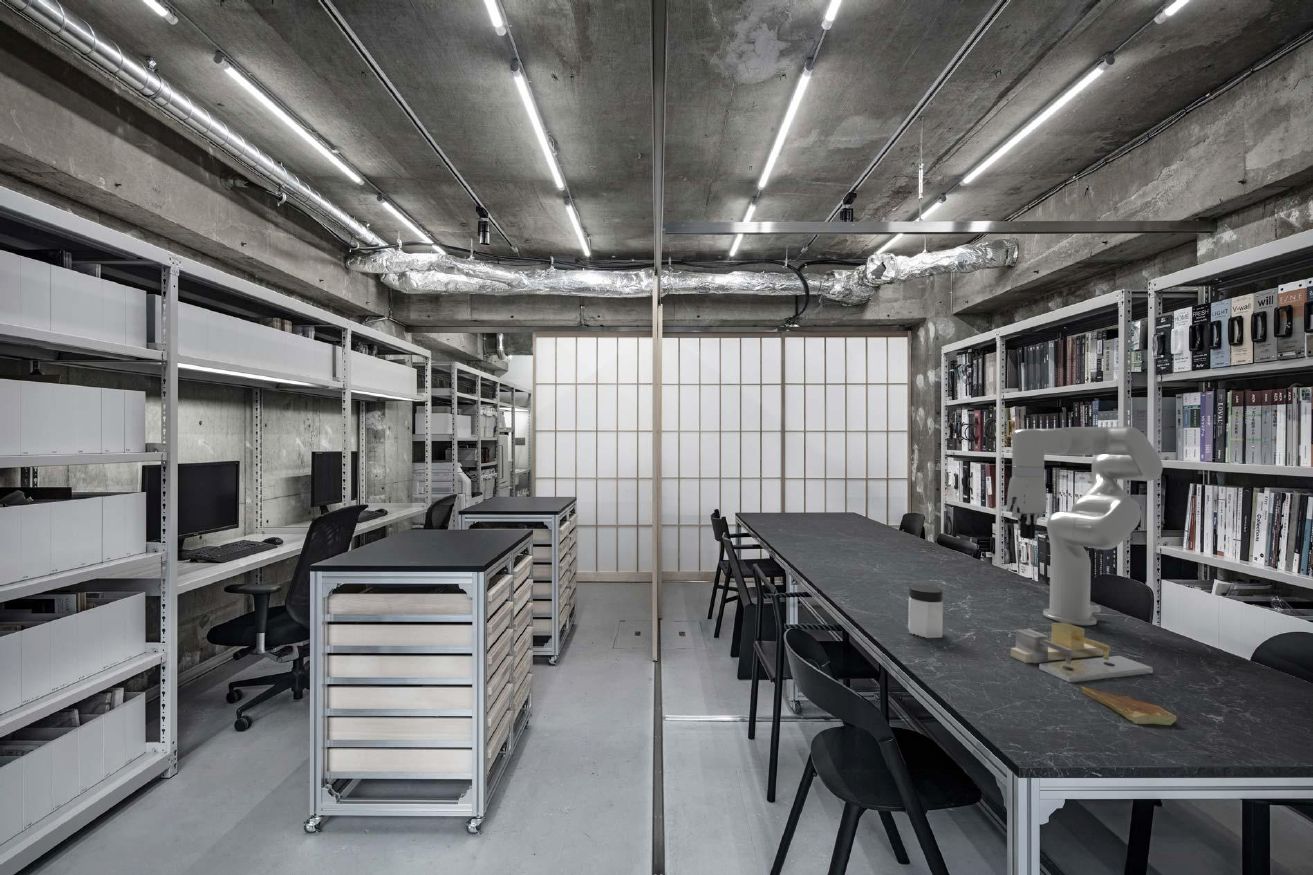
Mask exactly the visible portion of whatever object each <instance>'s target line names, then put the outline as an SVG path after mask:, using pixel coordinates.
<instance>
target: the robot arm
mask: <svg viewBox="0 0 1313 875" xmlns="http://www.w3.org/2000/svg"><path fill="white" fill-rule="evenodd" d="M1011 443H1012V447H1011V448H1012V449H1011V450H1012V453H1011V454H1012V456H1011V460H1012V461H1011V462H1012V463H1011V464H1012V465H1011V477H1010V479H1009V481H1008V483H1009V484H1008V489H1007V497H1006V509H1007V511H1008V512H1009V513H1011V517H1012V518H1015V519H1017V521H1018V524H1019V537H1020V538H1022V539H1027V540H1034V539H1036V525H1037V523H1038V519H1039V518H1042V517H1044V512H1046V510H1047V502H1048V501H1047V487H1046V482H1045V480H1046V479H1045V456H1095V457H1094V458H1093V460H1092V462H1091V480H1092V481H1091V482H1092V485H1091V486H1090V487H1089V488H1088V489H1087V490H1086V491H1085V492H1084V493H1083V494H1082V495H1081V496H1079V497H1078V498H1076V500H1075V501H1074V502H1073V504H1072V506H1071V509H1070V510H1071V511H1069V510H1068V511H1067V510H1059V511H1057V512H1053V513H1052V514H1051V515H1050V516H1048V519H1047V521H1046V531H1047V535H1048V540H1049V550H1050V560H1049V561H1050V566H1049V567H1050V568H1049V570H1050V571H1049V574H1050V575H1049V608H1045V609H1043V611H1042V612H1043V613H1042V614H1043V616H1044V617H1045V618H1047V619H1050V620H1053V621H1056V622H1058V623H1061V622H1065V623H1068V624H1071V625H1074V626H1094V625H1096V624H1097V621H1098V620H1097V618H1095V617H1094V616H1093V613H1100V612H1102V608H1101V606H1099V605H1093V604H1091V576H1092V575H1091V574H1092V573H1091V571H1092V570H1091V568H1092V563H1091V558H1090V556H1089V554H1088V552H1087V550H1086V549H1085V548H1086V547H1087V548H1093V549H1097V550H1098V549H1099V550H1112V549H1115V548H1116V547H1118V546H1119V545H1120V544H1121V543H1122V542H1123V541H1124V540H1125V539H1127V537H1128V536H1129V535H1130V534H1131V533H1132V532H1133V531H1134V530H1136V528H1137V527H1138V525H1139V523H1140V521H1141V518H1142V517H1141V516H1142V509H1141V506H1140V504H1139V503H1138V501H1136V500H1135V499H1133V498H1131V497H1129V496H1125V492H1124V490H1123V488H1122V487H1121V485H1120V484H1119V483H1117V480H1121V481H1122V480H1123V481H1138V482H1139V481H1140V482H1141V481H1143V482H1151V481H1155V480H1157V479H1158V478H1159V477H1160V476H1161V475H1162V473H1163V469H1164V468H1163V462H1162V459H1161V458H1160V455H1159V454H1158V452H1157V451H1156V449H1155V448H1154V446H1153V445H1152V443H1151V442H1150V440H1149V439H1148V437H1146V436H1145V435H1144V433H1143V432H1141V430H1140V429H1138V428H1136V427H1133V426H1072V427H1071V426H1069V427H1057V428H1021V429H1020V428H1019V429H1015V430H1014V431H1013V432H1012V440H1011Z"/></svg>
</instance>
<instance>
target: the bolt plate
mask: <svg viewBox="0 0 1313 875" xmlns="http://www.w3.org/2000/svg"><path fill="white" fill-rule="evenodd" d="M1038 664H1039V667H1038V668H1039V670H1040V671H1043V672H1045V673H1047V674H1049V675H1051V676H1053V677H1056V678H1059V679H1061V680H1063V681H1066V682H1068V683H1075V682H1084V681H1093V680H1101V679H1110V678H1111V679H1113V678H1119V677H1128V676H1129V677H1130V676H1139V675H1146V674H1153V673H1154V672H1153V671H1154V670H1153V667H1152V666H1149V665H1147V664H1144V663H1142V662H1141V663H1140V662H1138V661H1135V660H1132V659H1129V658H1127V657H1124V656H1122V655H1113V656H1109V660H1106V659H1103V656H1101V657H1093V658H1084V659H1074V660H1072V659H1071V664H1068V663H1066V660H1064V661H1056V662H1055V661H1054V662H1053V661H1052V662H1042V663H1038Z"/></svg>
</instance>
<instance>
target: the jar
mask: <svg viewBox="0 0 1313 875" xmlns="http://www.w3.org/2000/svg"><path fill="white" fill-rule="evenodd" d="M943 594H944V592H943V589H942V588H939V587H937V586H934V585H933V586H932V585H928V584H911V585H909V586H908V610H907V611H908V615H907V616H908V618H907V619H908V622H907V623H908V624H907V628H908V632H909V634H910V633H911V634H910V635H913V634H915V635H914V636H917V635H919V636H918V637H920V636H921V638H923V637H925V638H924V639H941V638H943V621H944V620H943V619H944V617H943V613H944V612H943V610H944V602H943V599H944V598H943Z"/></svg>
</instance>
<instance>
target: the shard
mask: <svg viewBox="0 0 1313 875" xmlns="http://www.w3.org/2000/svg"><path fill="white" fill-rule="evenodd" d="M1079 686H1080V688H1081V689H1082V694H1085V695H1086V696H1088V697H1090V698H1091V699H1094V700H1095V701H1097V702H1099V703H1100V704H1103V705H1104V706H1106V707H1108V708H1110V709H1111V710H1112V711H1114V712H1116V713H1118V714H1120V716H1123V717H1124V718H1125V719H1127V720H1128V721H1131V722H1132V723H1133V724H1134V725H1135V724H1136V725H1137V724H1139V725H1140V724H1143V725H1148V724H1149V725H1150V724H1152V725H1153V724H1154V725H1164V726H1166V725H1167V726H1171V725H1172V724H1174V722H1176V721H1177V716H1176V715H1174V714H1173V713H1172V712H1169V711H1167V710H1165V709H1164V708H1162V707H1161V706H1160V705H1158V704H1154V703H1151V702H1148V701H1146V700H1145V701H1144V700H1139V699H1137V698H1134V697H1130V696H1127V695H1123V694H1119V693H1115V692H1109V691H1107V690H1102V689H1097V688H1094V687H1090V686H1086V685H1083V684H1080V685H1079Z"/></svg>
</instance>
